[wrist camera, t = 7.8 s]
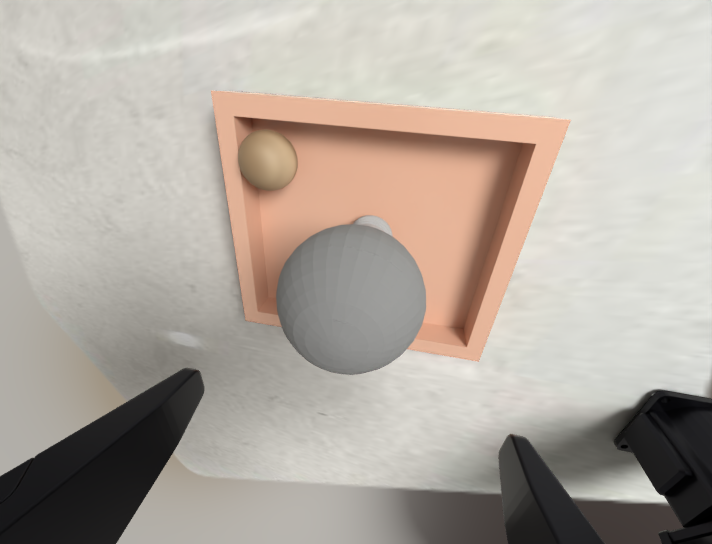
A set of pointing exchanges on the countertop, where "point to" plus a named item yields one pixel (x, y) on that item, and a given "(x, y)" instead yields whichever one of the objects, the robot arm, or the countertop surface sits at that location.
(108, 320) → the countertop surface
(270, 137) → the cork ball
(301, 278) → the light bulb
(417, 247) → the dish
